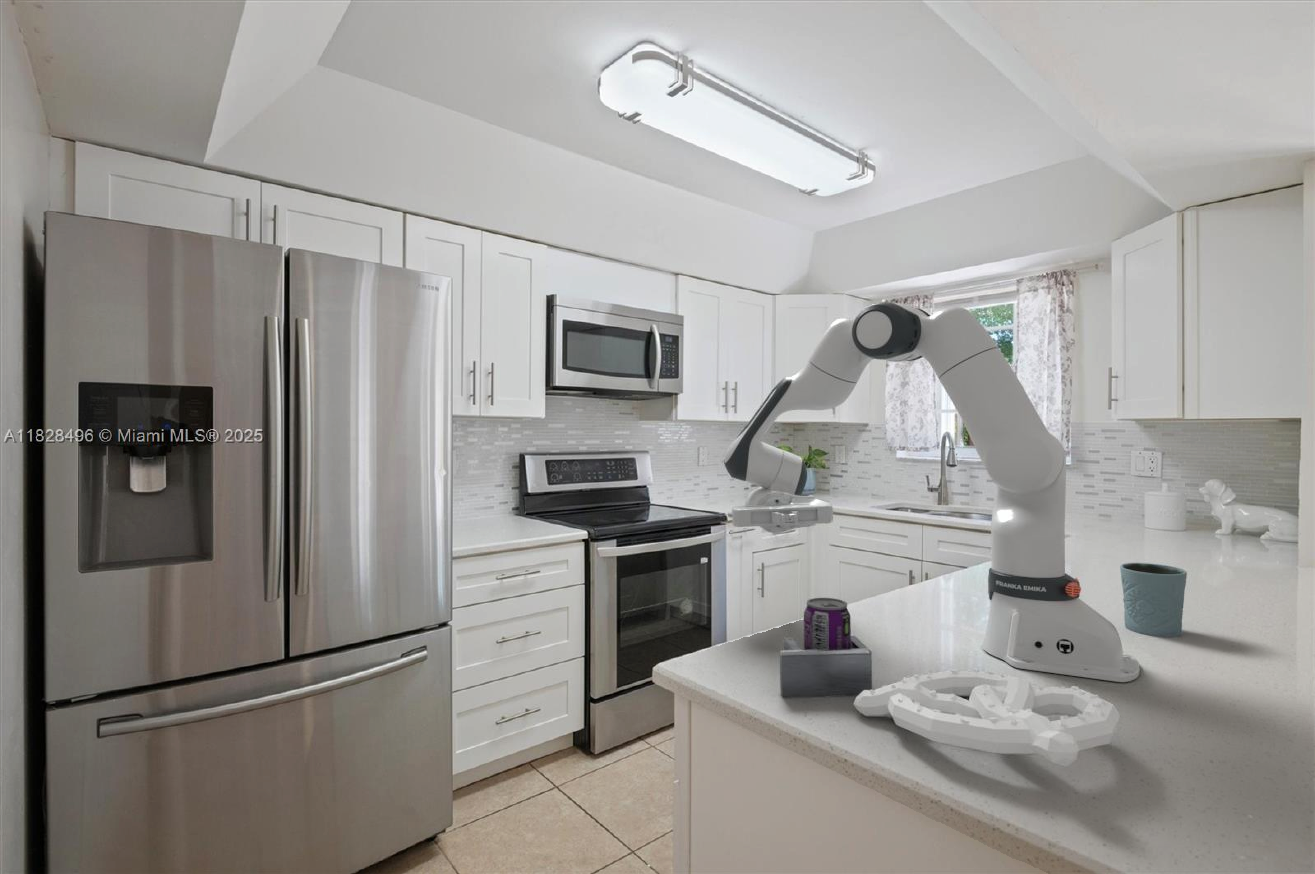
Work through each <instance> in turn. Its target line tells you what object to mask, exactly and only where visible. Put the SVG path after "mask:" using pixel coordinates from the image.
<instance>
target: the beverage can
mask: <svg viewBox="0 0 1315 874" xmlns="http://www.w3.org/2000/svg"><path fill="white" fill-rule="evenodd" d="M851 620H852V619H851V614H850V611H849V610H848V602H846V601H845V600H842V599H839V598H833V597H814V598H810V599H808V600H806V607H805V609H804V611H803V650H819V649H851V636H852V633H851V632H852V631H851V625H852V624H851Z"/></svg>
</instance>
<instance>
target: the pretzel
mask: <svg viewBox="0 0 1315 874" xmlns="http://www.w3.org/2000/svg"><path fill="white" fill-rule="evenodd" d="M963 697H969V699H965V698H963ZM853 705H854V707H855V708H856V711H859V713H861V714H862V715H863V716H865V717H874V718H875V717H876V718H878V717H880V718H881V717H882V718H884V717H888V716H890V715H891V718H892V719H893V721H894V723H895V725H896V726H898V727H900V728H902V729H905V730H907V731H910V732H912V733H914V734H917V735H919V736H921V737H924V738H926V739H928V740H931V741H933V742H934V743H938V744H943V745H948V746H953V747H954V746H955V747H959V748H965V749H970V750H976V751H982V752H986V753H991V754H992V753H993V754H997V755H998V754H1001V755H1004V754H1005V755H1040V756H1042V757H1043V758H1045V759H1047V760H1048V761H1050V762H1051V763H1053V764H1056V765H1059V766H1061V767H1064V768H1066V767H1068V766H1069V765H1071V764H1072V763H1073V764H1074V762H1076V761H1077V758H1078V754H1079V752H1080V751H1083V750H1086V749H1091V748H1096V747H1100V746H1104V745H1108V744H1110V743H1111V740H1112V738H1113V735H1114V733H1115V730H1116V728H1117V726H1118V723H1119V720H1120V717H1121V715H1120V713H1119V712H1118V710H1117V708H1116V707H1115V705H1114V704H1113V703H1110V702H1109V701H1107V700H1105V699H1103V698H1101V697H1099V695H1098V694H1093V693H1091V692H1089V691H1087V690H1084V689H1082V688H1081V689H1080V688H1079V686H1075V685H1072V686H1070V687H1066V686H1065V685H1061V686H1060V687H1058V686H1047V687H1044V686H1043V687H1042V686H1037V688H1034V687H1033V685H1032V684H1031V682H1030V681H1028V680H1027V679H1024V678H1021V677H1018V676H1009V675H1008V674H1004V673H1002V674H996V673H995V671H992V670H989V671H988V672H984V671H979V670H978V669H977V668H971V669H970V671H969V670H968V671H967V670H966V671H965V670H963V671H962V670H959V671H958V669H957V668H955V669H954V668H953V669H952V670H944V671H939V672H935V671H933V670H929V671H928V673H926V674H913V676H910V677H909V676H908V677H907V676H905V677H902V680H900V681H897V682H893V683H890V684H887V685H882V687H878V688H875V689H873V688H872V689H871V690H863V691H862V692H861V693H860V694H859V695H858V696H855V699H854V702H853ZM1054 715H1055V716H1060V717H1059V718H1060V719H1058V720H1051V721H1050V719H1049V718H1048V717H1047V716H1054Z"/></svg>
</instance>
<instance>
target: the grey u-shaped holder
mask: <svg viewBox="0 0 1315 874" xmlns="http://www.w3.org/2000/svg"><path fill="white" fill-rule="evenodd" d="M872 655H873V653H872V651H871V650H870V649H869V647H867V646H866V644H864V643H863V642H862V641H861V640H860V639H858V638H857V636H856V635H851V649H819V650H804V649H801V648H800V646H799V645H798V644H797V642H796V641H795V640H794V639H793V637H792V636H783V650H780V653H779V670H780V671H779V674H780V675H779V676H780V677H779V680H780V681H779V682H780V685H779V687H780V690H779V692H780V693H779V694H780V696H781V698H817V697H818V698H821V697H824V698H825V697H857V696H858V695H859V694H860V693H861V692H862V691H863V690H871V689H872V690H873V674H872V673H873V668H872V667H873V664H872V662H873V661H872V659H873V658H872Z"/></svg>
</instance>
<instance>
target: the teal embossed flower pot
mask: <svg viewBox="0 0 1315 874" xmlns="http://www.w3.org/2000/svg"><path fill="white" fill-rule="evenodd" d="M1119 568H1120V569H1119V570H1120V579H1121V586H1122V595H1123V598H1122V600H1123V608H1124V611H1123V612H1124V617H1123V619H1124V626H1125V629H1127V630H1129V631H1132V632H1134V633H1138V634H1142V635H1146V636H1151V637H1152V636H1153V637H1158V638H1177V637H1179V636H1181V635H1182V629H1183V615H1184V614H1183V613H1184V610H1183V609H1184V602H1185V589H1186V587H1187V586H1186V584H1187V578H1188V577H1187V575H1188V573H1187V572H1188V571H1187V570H1185V569H1183V568H1180V567H1176V566H1171V565H1166V564H1158V563H1150V562H1126V563H1122V564H1120V566H1119Z"/></svg>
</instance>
